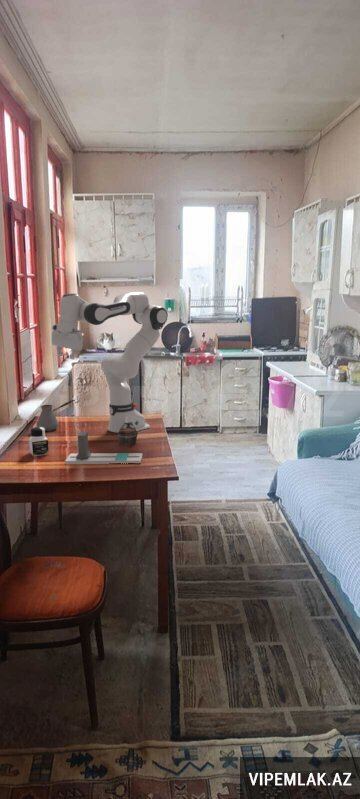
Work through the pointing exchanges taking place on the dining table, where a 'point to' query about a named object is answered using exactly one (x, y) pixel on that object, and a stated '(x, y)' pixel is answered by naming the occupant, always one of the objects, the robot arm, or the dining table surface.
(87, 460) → the console track
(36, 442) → the medicine bottle
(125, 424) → the cupcake
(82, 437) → the fader cap
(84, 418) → the dining table surface
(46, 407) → the coffee pot
